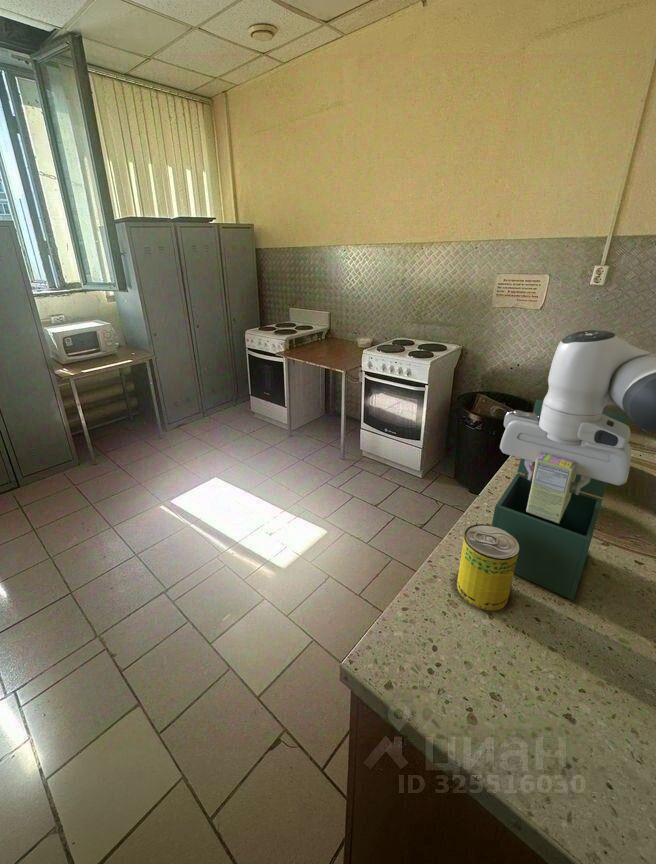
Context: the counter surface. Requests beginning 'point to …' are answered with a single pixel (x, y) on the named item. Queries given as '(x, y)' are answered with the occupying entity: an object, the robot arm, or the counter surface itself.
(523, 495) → the chest
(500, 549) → the yellow tin can
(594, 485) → the lid
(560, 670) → the counter surface
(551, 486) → the box
